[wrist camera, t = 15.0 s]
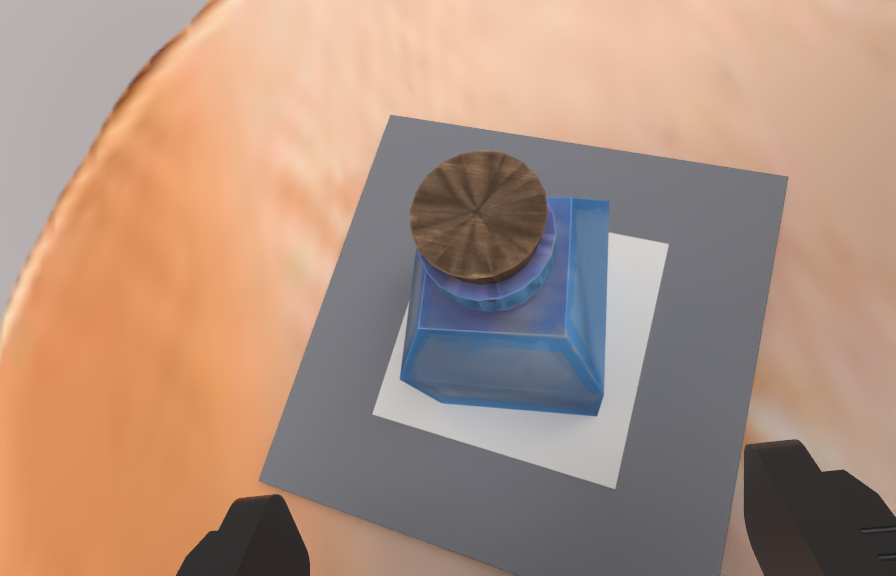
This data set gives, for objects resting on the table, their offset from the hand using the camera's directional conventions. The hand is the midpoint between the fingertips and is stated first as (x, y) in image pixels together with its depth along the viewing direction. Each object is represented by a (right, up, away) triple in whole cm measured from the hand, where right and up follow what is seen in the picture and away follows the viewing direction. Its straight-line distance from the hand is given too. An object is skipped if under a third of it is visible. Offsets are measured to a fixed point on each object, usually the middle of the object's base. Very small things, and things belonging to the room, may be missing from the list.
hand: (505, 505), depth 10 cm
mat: (+2, +2, +15) cm, 16 cm away
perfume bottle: (+2, +2, +14) cm, 15 cm away
